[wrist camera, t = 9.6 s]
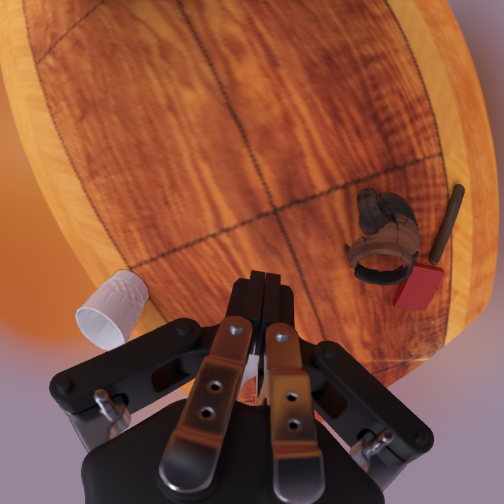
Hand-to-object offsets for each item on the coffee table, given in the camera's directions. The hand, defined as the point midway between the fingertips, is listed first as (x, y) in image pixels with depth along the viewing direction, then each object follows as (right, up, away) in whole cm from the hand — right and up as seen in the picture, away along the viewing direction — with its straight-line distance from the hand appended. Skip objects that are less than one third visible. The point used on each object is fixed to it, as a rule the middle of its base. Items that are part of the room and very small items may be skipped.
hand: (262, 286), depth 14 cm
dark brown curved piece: (+14, +5, +16) cm, 22 cm away
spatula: (+24, +2, +17) cm, 29 cm away
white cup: (-19, -4, +25) cm, 32 cm away
